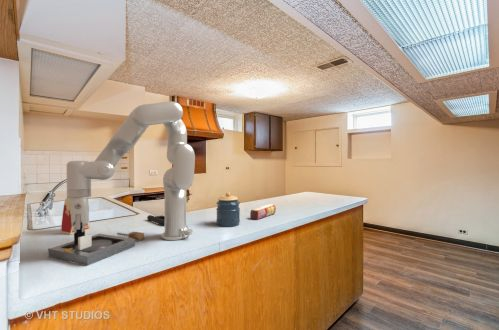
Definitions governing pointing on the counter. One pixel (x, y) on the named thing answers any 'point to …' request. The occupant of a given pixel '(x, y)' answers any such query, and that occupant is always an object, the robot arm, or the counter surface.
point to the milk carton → (69, 219)
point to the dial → (91, 244)
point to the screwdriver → (134, 235)
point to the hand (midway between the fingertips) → (79, 242)
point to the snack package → (262, 211)
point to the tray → (71, 255)
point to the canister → (228, 211)
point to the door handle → (157, 219)
